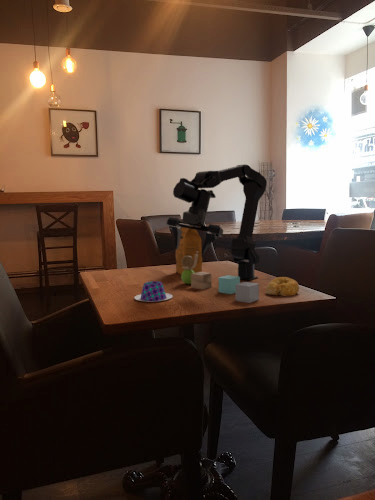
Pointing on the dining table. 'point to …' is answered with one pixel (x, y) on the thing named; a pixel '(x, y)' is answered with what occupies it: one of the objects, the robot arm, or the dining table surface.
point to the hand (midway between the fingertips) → (189, 251)
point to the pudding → (153, 292)
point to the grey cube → (247, 292)
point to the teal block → (228, 284)
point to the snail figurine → (188, 268)
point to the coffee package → (189, 249)
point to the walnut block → (201, 280)
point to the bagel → (282, 287)
